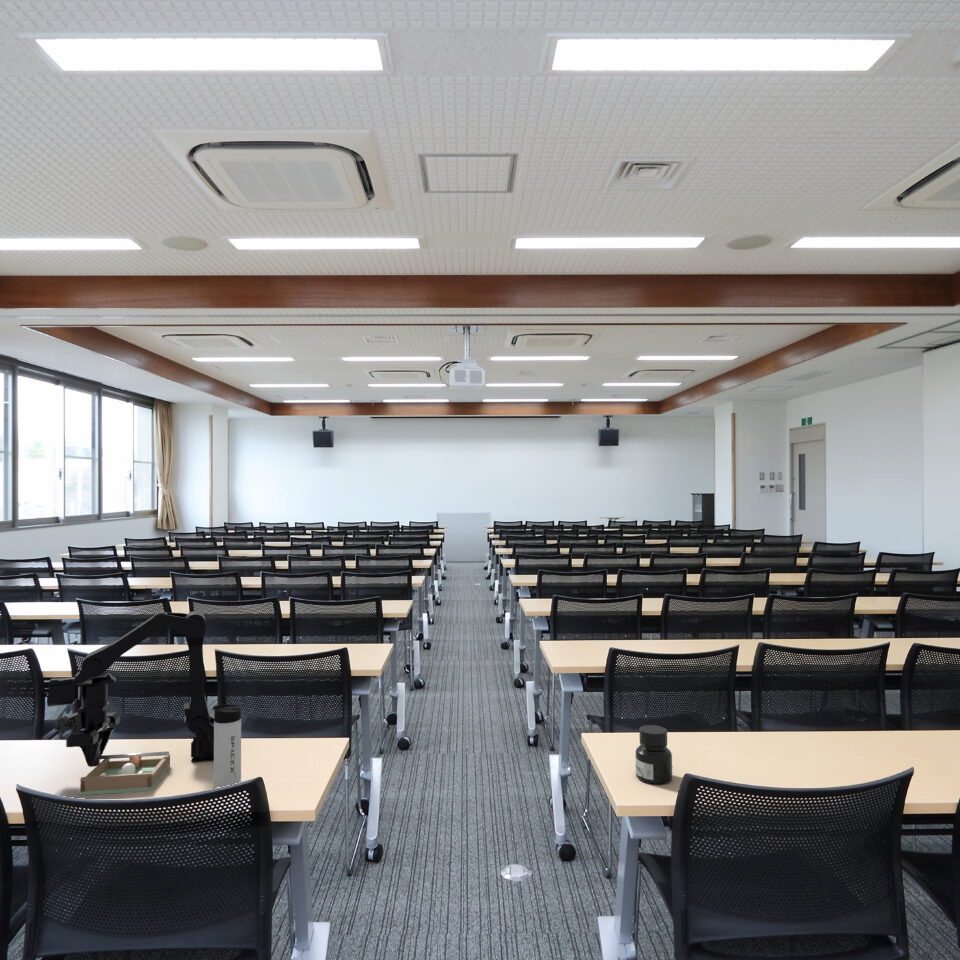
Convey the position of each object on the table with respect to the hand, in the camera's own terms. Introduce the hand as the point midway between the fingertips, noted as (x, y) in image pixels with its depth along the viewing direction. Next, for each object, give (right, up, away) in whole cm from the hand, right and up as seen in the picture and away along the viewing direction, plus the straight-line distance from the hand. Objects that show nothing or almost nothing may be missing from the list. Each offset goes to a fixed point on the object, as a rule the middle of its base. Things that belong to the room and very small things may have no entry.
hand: (94, 762), depth 173 cm
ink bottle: (+143, -2, -5) cm, 144 cm away
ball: (+11, 0, -3) cm, 11 cm away
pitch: (+11, -3, -4) cm, 12 cm away
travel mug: (+38, -3, -9) cm, 39 cm away
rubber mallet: (+8, -2, +1) cm, 9 cm away
